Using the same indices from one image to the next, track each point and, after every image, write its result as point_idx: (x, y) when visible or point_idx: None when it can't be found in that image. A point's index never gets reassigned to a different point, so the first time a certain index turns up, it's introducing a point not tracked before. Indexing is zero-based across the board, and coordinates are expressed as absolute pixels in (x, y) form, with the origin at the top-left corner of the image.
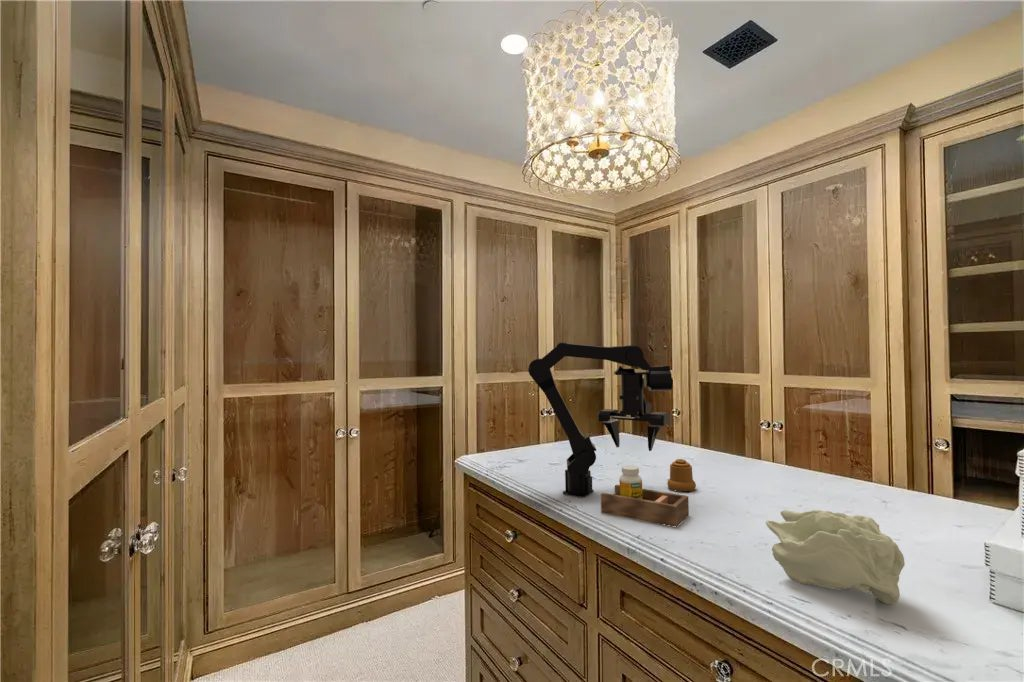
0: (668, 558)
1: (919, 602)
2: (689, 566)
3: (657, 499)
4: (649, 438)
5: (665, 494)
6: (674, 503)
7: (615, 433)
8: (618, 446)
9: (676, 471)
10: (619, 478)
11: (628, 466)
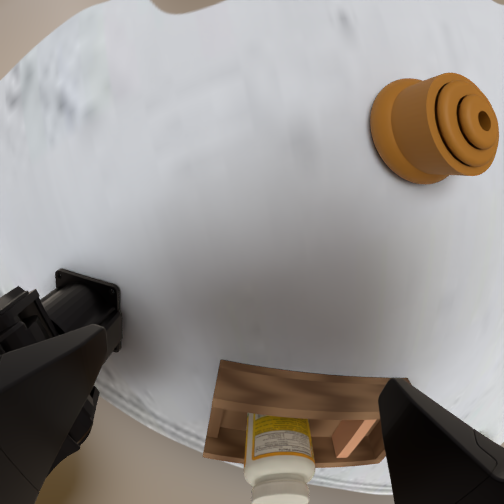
0: (341, 488)
1: (495, 438)
2: (360, 489)
3: (348, 443)
4: (405, 497)
5: (373, 418)
6: (380, 454)
7: (43, 447)
8: (104, 346)
9: (444, 170)
10: (245, 478)
11: (273, 500)
